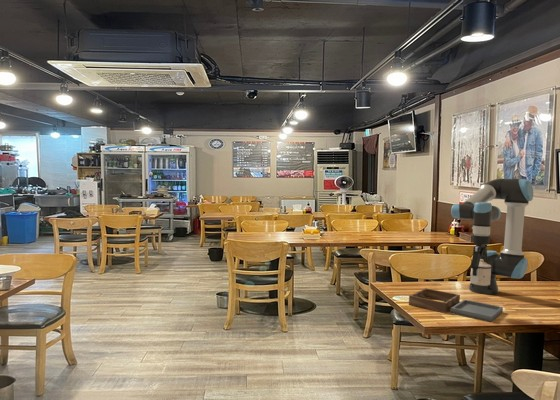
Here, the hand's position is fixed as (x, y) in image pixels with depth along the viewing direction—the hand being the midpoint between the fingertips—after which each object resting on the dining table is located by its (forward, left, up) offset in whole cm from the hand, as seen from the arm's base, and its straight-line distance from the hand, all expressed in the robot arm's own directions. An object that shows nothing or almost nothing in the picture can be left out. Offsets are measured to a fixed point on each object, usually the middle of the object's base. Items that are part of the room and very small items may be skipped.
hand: (478, 280), depth 204 cm
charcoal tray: (0, 0, -16) cm, 16 cm away
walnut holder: (+1, -20, -16) cm, 25 cm away
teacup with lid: (0, 0, -2) cm, 2 cm away
